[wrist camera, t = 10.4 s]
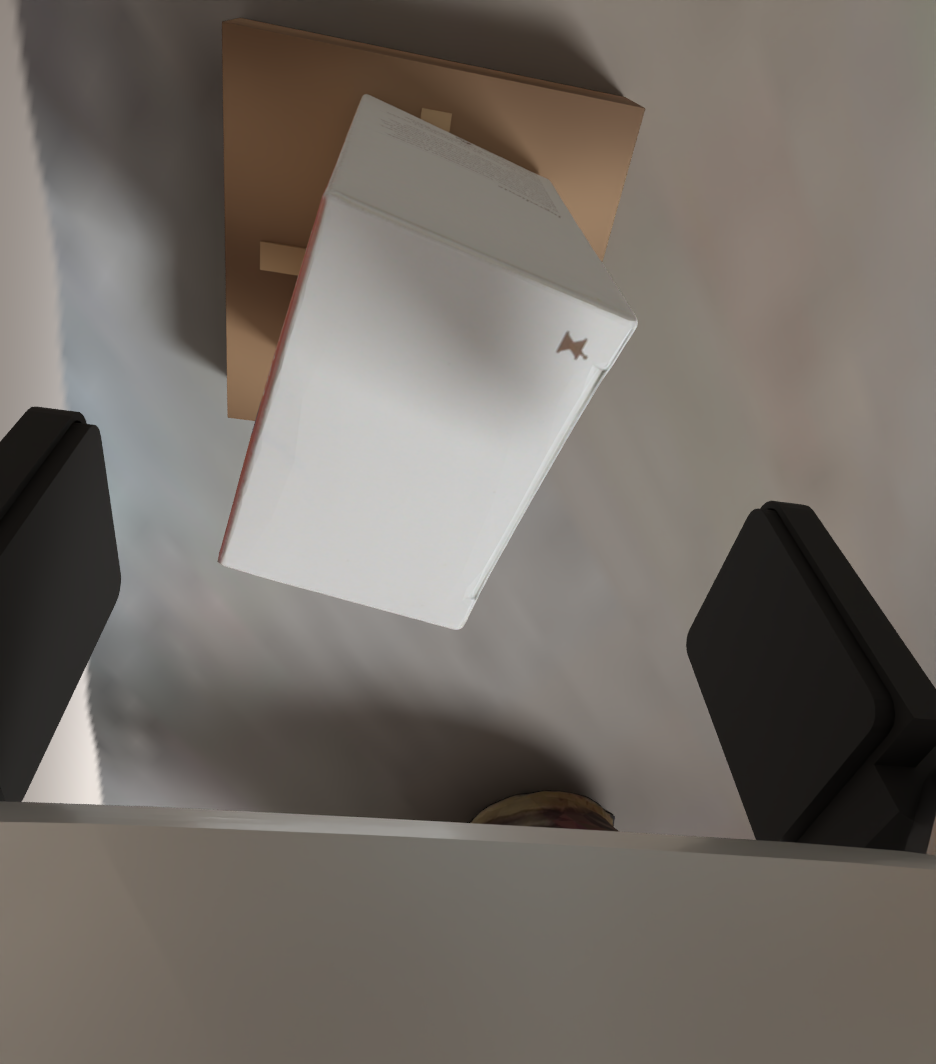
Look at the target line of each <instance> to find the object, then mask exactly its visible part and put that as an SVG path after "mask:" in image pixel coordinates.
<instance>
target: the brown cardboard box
mask: <svg viewBox="0 0 936 1064" xmlns="http://www.w3.org/2000/svg"><path fill="white" fill-rule="evenodd" d="M222 62H223V130H224V199H225V268H226V337H227V406H228V418H236V419H244V420H252V421H255V420H256V416H257V413H258V409H259V406H260V402H261V399H262V395H263V392H264V388H265V385H266V381H267V378H268V374H269V371H270V367H271V364H272V360H273V357H274V353H275V350H276V347H277V343H278V340H279V337H280V334H281V330H282V327H283V324H284V321H285V317H286V314H287V311H288V308H289V304H290V301H291V298H292V295H293V291H294V288H295V285H296V281H297V278H298V275H299V271H300V268H301V265H302V262H303V258H304V255H305V252H306V248H307V245H308V242H309V238H310V235H311V232H312V229H313V226H314V222H315V219H316V216H317V212H318V209H319V205H320V202H321V199H322V195H323V193H324V191H325V189H326V186H327V184H328V182H329V180H330V177H331V175H332V172H333V170H334V167H335V165H336V162H337V160H338V157H339V154H340V152H341V149H342V146H343V144H344V141H345V138H346V136H347V133H348V130H349V128H350V125H351V123H352V120H353V118H354V115H355V113H356V110H357V107H358V105H359V103H360V100H361V98H362V96H363V95H365V94H368V95H371V96H373V97H375V98H377V99H379V100H381V101H383V102H385V103H388V104H390V105H392V106H394V107H396V108H398V109H400V110H403V111H405V112H407V113H409V114H411V115H413V116H415V117H417V118H419V119H422V120H424V121H426V122H428V123H430V124H432V125H434V126H436V127H438V128H441V129H443V130H445V131H447V132H449V133H451V134H453V135H455V136H457V137H459V138H462V139H464V140H466V141H468V142H470V143H472V144H474V145H476V146H478V147H481V148H483V149H485V150H487V151H489V152H491V153H493V154H495V155H497V156H500V157H502V158H504V159H506V160H508V161H510V162H512V163H514V164H516V165H518V166H520V167H522V168H525V169H527V170H529V171H531V172H533V173H535V174H538V175H540V176H542V177H544V178H547V179H549V180H550V182H551V183H552V184H553V186H554V188H555V189H556V191H557V193H558V194H559V196H560V197H561V199H562V201H563V202H564V204H565V205H566V207H567V209H568V210H569V212H570V214H571V215H572V216H573V218H574V220H575V222H576V223H577V225H578V227H579V228H580V229H581V231H582V233H583V234H584V236H585V237H586V239H587V240H588V242H589V243H590V245H591V247H592V248H593V250H594V251H595V253H596V254H597V256H598V257H599V259H600V260H601V261H603V258H604V254H605V251H606V247H607V243H608V240H609V236H610V233H611V229H612V225H613V222H614V218H615V215H616V211H617V208H618V204H619V200H620V197H621V193H622V190H623V186H624V183H625V179H626V175H627V172H628V168H629V165H630V161H631V158H632V154H633V150H634V147H635V143H636V140H637V136H638V133H639V129H640V125H641V122H642V118H643V115H644V111H645V108H644V107H642V106H640V105H638V104H637V103H635V102H633V101H631V100H629V99H628V98H626V97H622V96H618V95H613V94H608V93H603V92H598V91H593V90H588V89H584V88H579V87H574V86H569V85H564V84H559V83H555V82H550V81H545V80H540V79H535V78H530V77H525V76H521V75H516V74H511V73H506V72H501V71H496V70H492V69H487V68H482V67H477V66H472V65H467V64H462V63H458V62H453V61H448V60H443V59H438V58H433V57H429V56H424V55H419V54H414V53H409V52H404V51H399V50H395V49H390V48H385V47H380V46H375V45H370V44H365V43H361V42H356V41H351V40H346V39H341V38H336V37H332V36H327V35H322V34H317V33H312V32H307V31H302V30H298V29H293V28H288V27H283V26H278V25H273V24H269V23H264V22H259V21H254V20H249V19H244V18H236V19H232V20H227V21H223V22H222Z"/></svg>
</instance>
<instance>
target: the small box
mask: <svg viewBox="0 0 936 1064" xmlns="http://www.w3.org/2000/svg"><path fill="white" fill-rule="evenodd" d="M637 324H638V321H637V318H636V316H635V314H634V312H633V310H632V309H631V307H630V306H629V304H628V303H627V301H626V299H625V298H624V296H623V295H622V293H621V292H620V290H619V288H618V287H617V285H616V284H615V282H614V280H613V279H612V277H611V275H610V274H609V272H608V271H607V269H606V268H605V266H604V265H603V263H602V261H601V260H600V259H599V257H598V256H597V254H596V253H595V251H594V250H593V248H592V247H591V245H590V243H589V242H588V240H587V239H586V237H585V236H584V234H583V233H582V231H581V229H580V228H579V227H578V225H577V223H576V222H575V220H574V218H573V216H572V215H571V214H570V212H569V210H568V209H567V207H566V205H565V204H564V202H563V201H562V199H561V197H560V196H559V194H558V193H557V191H556V189H555V188H554V186H553V184H552V183H551V182H550V180H549V179H547V178H544V177H542V176H540V175H538V174H535V173H533V172H531V171H529V170H527V169H525V168H522V167H520V166H518V165H516V164H514V163H512V162H510V161H508V160H506V159H504V158H502V157H500V156H497V155H495V154H493V153H491V152H489V151H487V150H485V149H483V148H481V147H478V146H476V145H474V144H472V143H470V142H468V141H466V140H464V139H462V138H459V137H457V136H455V135H453V134H451V133H449V132H447V131H445V130H443V129H441V128H438V127H436V126H434V125H432V124H430V123H428V122H426V121H424V120H422V119H419V118H417V117H415V116H413V115H411V114H409V113H407V112H405V111H403V110H400V109H398V108H396V107H394V106H392V105H390V104H388V103H385V102H383V101H381V100H379V99H377V98H375V97H373V96H371V95H368V94H365V95H363V96H362V98H361V100H360V103H359V105H358V107H357V110H356V113H355V115H354V118H353V120H352V123H351V125H350V128H349V130H348V133H347V136H346V138H345V141H344V144H343V146H342V149H341V152H340V154H339V157H338V160H337V162H336V165H335V167H334V170H333V172H332V175H331V177H330V180H329V182H328V184H327V186H326V189H325V191H324V193H323V195H322V199H321V202H320V205H319V209H318V212H317V216H316V219H315V222H314V226H313V229H312V232H311V235H310V238H309V242H308V245H307V248H306V252H305V255H304V258H303V262H302V265H301V268H300V271H299V275H298V278H297V281H296V285H295V288H294V291H293V295H292V298H291V301H290V304H289V308H288V311H287V314H286V317H285V321H284V324H283V327H282V330H281V334H280V337H279V340H278V343H277V347H276V350H275V353H274V357H273V360H272V364H271V367H270V371H269V374H268V378H267V381H266V385H265V388H264V392H263V395H262V399H261V402H260V406H259V409H258V413H257V416H256V420H255V424H254V427H253V431H252V435H251V438H250V442H249V446H248V449H247V453H246V457H245V460H244V464H243V468H242V471H241V475H240V479H239V483H238V486H237V490H236V494H235V498H234V502H233V505H232V509H231V513H230V517H229V520H228V524H227V528H226V531H225V535H224V539H223V542H222V546H221V549H220V552H219V557H218V562H219V563H220V564H221V565H222V566H226V567H229V568H233V569H236V570H240V571H243V572H246V573H249V574H253V575H256V576H260V577H263V578H267V579H270V580H274V581H277V582H281V583H285V584H289V585H292V586H296V587H300V588H304V589H307V590H311V591H315V592H318V593H322V594H325V595H329V596H333V597H336V598H340V599H344V600H347V601H351V602H355V603H358V604H362V605H366V606H369V607H373V608H377V609H380V610H384V611H388V612H392V613H395V614H399V615H403V616H406V617H410V618H414V619H417V620H421V621H425V622H428V623H432V624H436V625H439V626H443V627H447V628H450V629H456V630H459V629H460V628H462V627H463V626H464V625H465V623H466V621H467V619H468V617H469V614H470V612H471V610H472V609H473V607H474V605H475V602H476V600H477V598H478V596H479V594H480V592H481V590H482V588H483V586H484V585H485V583H486V581H487V579H488V577H489V575H490V573H491V572H492V570H493V568H494V566H495V564H496V563H497V561H498V559H499V557H500V555H501V554H502V552H503V550H504V548H505V547H506V545H507V543H508V541H509V539H510V538H511V536H512V534H513V532H514V530H515V529H516V527H517V525H518V523H519V522H520V520H521V518H522V517H523V515H524V513H525V511H526V509H527V508H528V506H529V504H530V502H531V501H532V499H533V497H534V495H535V494H536V492H537V490H538V488H539V487H540V485H541V483H542V481H543V480H544V478H545V476H546V474H547V473H548V471H549V469H550V468H551V466H552V464H553V462H554V461H555V459H556V457H557V455H558V454H559V452H560V450H561V448H562V447H563V445H564V443H565V441H566V440H567V438H568V437H569V435H570V433H571V431H572V429H573V428H574V426H575V424H576V423H577V421H578V419H579V418H580V416H581V414H582V413H583V411H584V410H585V408H586V406H587V405H588V403H589V401H590V400H591V398H592V396H593V394H594V393H595V391H596V389H597V388H598V386H599V384H600V383H601V381H602V380H603V378H604V377H605V375H606V374H607V373H608V371H609V370H610V369H611V367H612V366H613V364H614V362H615V361H616V359H617V358H618V356H619V354H620V353H621V351H622V350H623V348H624V346H625V345H626V343H627V342H628V340H629V339H630V337H631V336H632V334H633V333H634V331H635V329H636V328H637Z"/></svg>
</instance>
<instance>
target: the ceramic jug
mask: <svg viewBox="0 0 936 1064" xmlns="http://www.w3.org/2000/svg"><path fill="white" fill-rule="evenodd" d="M614 819H615V816H613V815H611V814H609V813H607V812H605V811H604V809H603V808H602V807H601V806H600V805H598V804H597V803H595V802H594V801H592V800H591V799H589V798H588V797H584V796H580V795H577V794H573V793H567V792H561V791H542V792H537V793H532V794H523V795H516V796H513V797H510V798H507V799H504V800H502V801H500V802H497V803H495V804H493V805H491V806H489V807H487V808H486V809H484V810H483V811H481V812H480V813H479V814H478V815H477V816H476V817H475V818H474V819H473V820H472V822H471V823H475V824H493V825H511V826H528V827H546V828H564V829H581V830H599V831H616V832H619V831H618V830H616V829H615V828H614V827H613V826H614Z"/></svg>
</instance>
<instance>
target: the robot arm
mask: <svg viewBox="0 0 936 1064" xmlns="http://www.w3.org/2000/svg"><path fill="white" fill-rule="evenodd" d="M120 585H121V573H120V566H119V559H118V552H117V545H116V538H115V531H114V524H113V517H112V510H111V503H110V496H109V489H108V482H107V475H106V468H105V462H104V455H103V448H102V441H101V435H100V431H99V429H98V427H97V426H96V425H90V424H87V423H86V420H85V418H84V416H83V415H82V414H81V413H80V412H74V411H66V410H58V409H51V408H42V407H31V408H30V409H28V410H27V412H25V414H24V415H23V416H22V417H21V418H20V419H19V421H18V422H17V423H16V424H15V425H14V427H13V428H12V429H11V430H10V431H9V432H8V433H7V435H6V436H5V437H4V438H3V439H2V440H1V442H0V1064H936V689H935V687H934V686H933V684H932V683H931V681H930V680H929V679H928V677H927V676H926V674H925V673H924V671H923V670H922V668H921V667H920V665H919V664H918V663H917V661H916V660H915V658H914V657H913V655H912V654H911V652H910V651H909V649H908V648H907V647H906V645H905V644H904V642H903V641H902V639H901V638H900V636H899V635H898V633H897V632H896V630H895V629H894V628H893V626H892V625H891V623H890V622H889V620H888V619H887V617H886V616H885V614H884V613H883V612H882V610H881V609H880V607H879V606H878V604H877V603H876V601H875V600H874V598H873V597H872V596H871V594H870V593H869V591H868V590H867V588H866V587H865V585H864V584H863V582H862V581H861V579H860V578H859V577H858V575H857V574H856V572H855V571H854V569H853V568H852V566H851V565H850V563H849V562H848V561H847V559H846V558H845V556H844V555H843V553H842V552H841V550H840V549H839V547H838V546H837V544H836V543H835V542H834V540H833V539H832V537H831V536H830V534H829V533H828V531H827V530H826V528H825V527H824V526H823V524H822V523H821V521H820V520H819V518H818V517H817V515H816V514H815V512H814V511H813V510H812V509H811V508H810V507H809V506H806V505H801V504H793V503H785V502H777V501H769V502H766V503H765V504H764V505H763V506H762V507H761V508H760V509H754V510H753V511H752V512H751V513H750V514H749V516H748V517H747V519H746V521H745V523H744V525H743V527H742V529H741V531H740V533H739V535H738V537H737V539H736V541H735V542H734V544H733V546H732V548H731V550H730V552H729V554H728V556H727V558H726V560H725V562H724V564H723V566H722V568H721V570H720V572H719V574H718V575H717V577H716V579H715V581H714V583H713V585H712V587H711V589H710V591H709V593H708V595H707V597H706V599H705V601H704V603H703V605H702V606H701V608H700V610H699V612H698V614H697V616H696V618H695V620H694V622H693V624H692V626H691V628H690V630H689V632H688V636H687V643H686V647H687V653H688V657H689V659H690V662H691V665H692V668H693V670H694V673H695V676H696V678H697V681H698V684H699V687H700V689H701V692H702V695H703V697H704V700H705V703H706V705H707V708H708V711H709V714H710V716H711V719H712V722H713V724H714V727H715V730H716V733H717V735H718V738H719V741H720V743H721V746H722V749H723V751H724V754H725V757H726V760H727V762H728V765H729V768H730V770H731V773H732V776H733V779H734V781H735V784H736V787H737V789H738V792H739V795H740V797H741V800H742V803H743V806H744V808H745V811H746V814H747V816H748V819H749V822H750V825H751V827H752V830H753V833H754V835H755V838H756V840H746V839H730V838H714V837H697V836H681V835H665V834H648V833H632V832H616V831H599V830H581V829H564V828H546V827H528V826H511V825H493V824H475V823H457V822H439V821H421V820H403V819H385V818H366V817H346V816H327V815H307V814H287V813H268V812H248V811H228V810H209V809H189V808H169V807H148V806H119V805H91V804H90V805H89V804H63V803H34V802H21V801H22V800H23V798H24V796H25V794H26V792H27V790H28V788H29V785H30V784H31V781H32V779H33V777H34V775H35V773H36V771H37V768H38V766H39V764H40V762H41V760H42V758H43V756H44V754H45V752H46V750H47V748H48V745H49V743H50V741H51V739H52V737H53V735H54V733H55V730H56V728H57V726H58V724H59V722H60V720H61V718H62V716H63V714H64V711H65V709H66V707H67V705H68V703H69V701H70V699H71V697H72V694H73V692H74V690H75V688H76V686H77V684H78V682H79V680H80V678H81V676H82V673H83V671H84V669H85V667H86V665H87V663H88V661H89V659H90V656H91V654H92V652H93V650H94V648H95V646H96V644H97V642H98V640H99V637H100V635H101V633H102V631H103V629H104V627H105V625H106V623H107V620H108V618H109V616H110V614H111V612H112V610H113V608H114V606H115V604H116V601H117V599H118V596H119V592H120Z"/></svg>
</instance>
